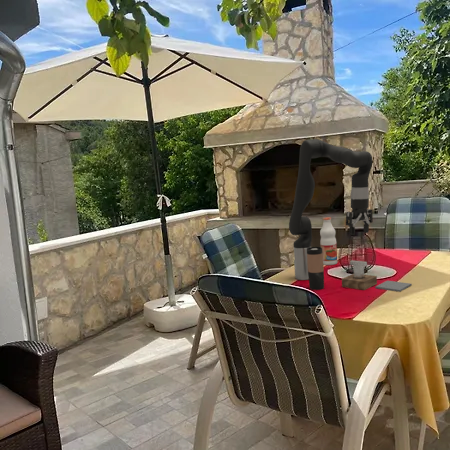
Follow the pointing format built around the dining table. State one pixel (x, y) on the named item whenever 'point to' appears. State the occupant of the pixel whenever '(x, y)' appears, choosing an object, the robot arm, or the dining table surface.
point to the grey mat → (393, 286)
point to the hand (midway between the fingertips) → (359, 233)
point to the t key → (358, 268)
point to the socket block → (359, 282)
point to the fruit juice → (328, 242)
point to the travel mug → (315, 268)
